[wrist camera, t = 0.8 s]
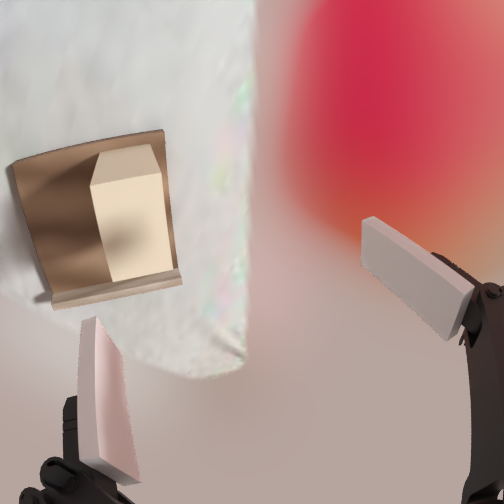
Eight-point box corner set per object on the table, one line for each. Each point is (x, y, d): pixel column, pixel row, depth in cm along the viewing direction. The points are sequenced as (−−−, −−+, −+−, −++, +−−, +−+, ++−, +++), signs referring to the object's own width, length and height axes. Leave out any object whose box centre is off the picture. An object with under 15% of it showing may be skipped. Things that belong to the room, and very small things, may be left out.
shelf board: (16, 160, 24) (5, 170, 21) (162, 129, 29) (166, 135, 26) (57, 293, 33) (54, 312, 30) (177, 269, 38) (182, 285, 35)
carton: (99, 152, 26) (89, 185, 18) (150, 143, 28) (162, 172, 20) (112, 225, 30) (112, 282, 23) (158, 216, 32) (174, 269, 24)
